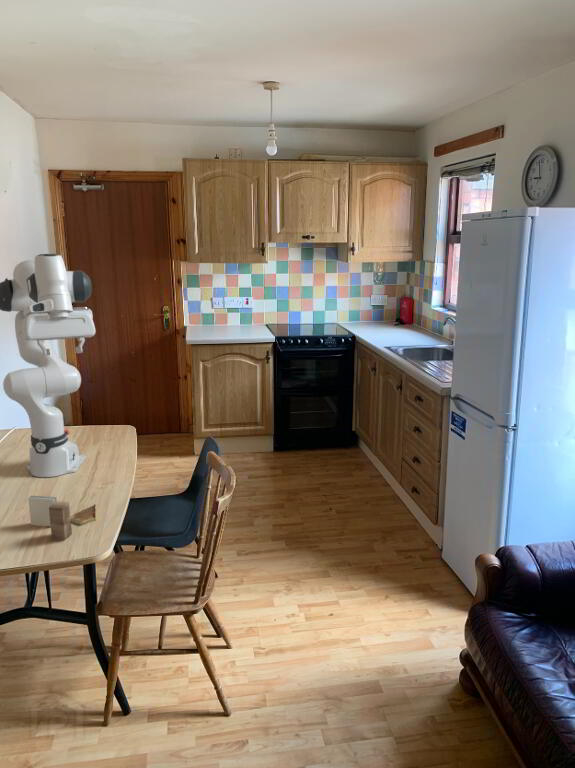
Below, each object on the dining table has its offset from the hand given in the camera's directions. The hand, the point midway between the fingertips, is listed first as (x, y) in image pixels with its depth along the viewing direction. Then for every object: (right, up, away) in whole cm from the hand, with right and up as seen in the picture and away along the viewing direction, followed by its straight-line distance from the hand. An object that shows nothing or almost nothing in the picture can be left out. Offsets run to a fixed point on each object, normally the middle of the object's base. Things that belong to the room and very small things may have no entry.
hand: (63, 354), depth 171 cm
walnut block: (+1, -53, -3) cm, 53 cm away
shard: (+2, -51, +10) cm, 51 cm away
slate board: (-7, -51, +4) cm, 52 cm away
